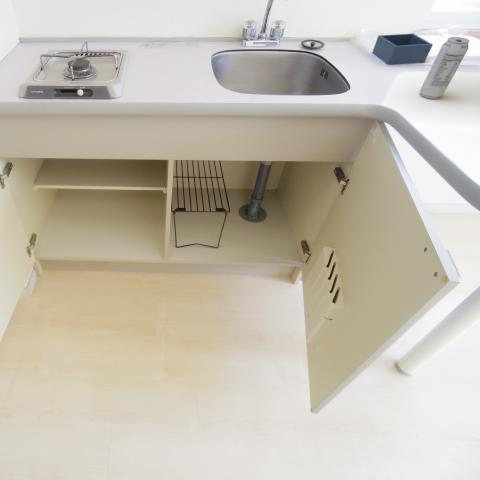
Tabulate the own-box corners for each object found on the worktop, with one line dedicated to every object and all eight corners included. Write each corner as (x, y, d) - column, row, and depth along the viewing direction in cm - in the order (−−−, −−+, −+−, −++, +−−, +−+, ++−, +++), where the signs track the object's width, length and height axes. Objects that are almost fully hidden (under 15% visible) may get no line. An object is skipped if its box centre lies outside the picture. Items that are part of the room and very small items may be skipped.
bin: (424, 62, 121) (433, 44, 117) (388, 64, 121) (395, 46, 117) (406, 50, 130) (413, 33, 125) (372, 52, 130) (378, 35, 126)
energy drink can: (439, 92, 104) (468, 36, 94) (443, 100, 100) (475, 43, 90) (416, 90, 106) (443, 35, 95) (420, 98, 102) (448, 42, 91)
